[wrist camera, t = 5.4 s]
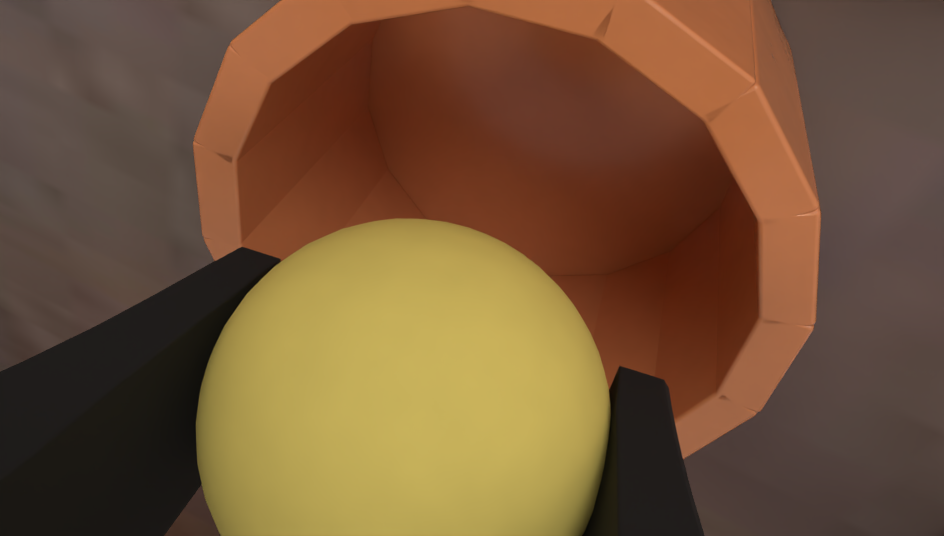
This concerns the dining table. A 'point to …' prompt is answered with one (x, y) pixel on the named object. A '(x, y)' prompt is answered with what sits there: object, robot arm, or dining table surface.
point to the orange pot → (547, 164)
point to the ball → (403, 393)
